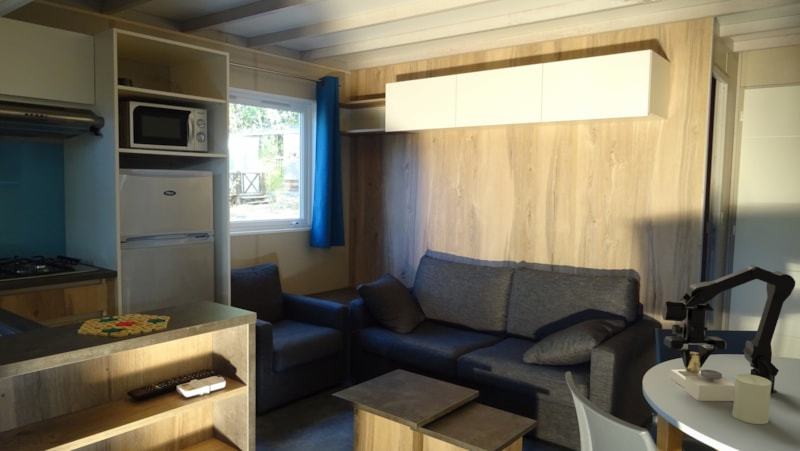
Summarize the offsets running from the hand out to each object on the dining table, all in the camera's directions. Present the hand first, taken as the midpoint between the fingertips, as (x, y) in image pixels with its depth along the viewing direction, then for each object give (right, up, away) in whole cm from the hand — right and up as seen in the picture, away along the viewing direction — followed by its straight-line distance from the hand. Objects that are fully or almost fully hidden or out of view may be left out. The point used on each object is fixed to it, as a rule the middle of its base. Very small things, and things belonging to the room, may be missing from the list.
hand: (692, 367), depth 198 cm
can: (+4, -9, -26) cm, 28 cm away
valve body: (0, -6, -4) cm, 7 cm away
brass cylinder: (0, -1, 0) cm, 1 cm away
